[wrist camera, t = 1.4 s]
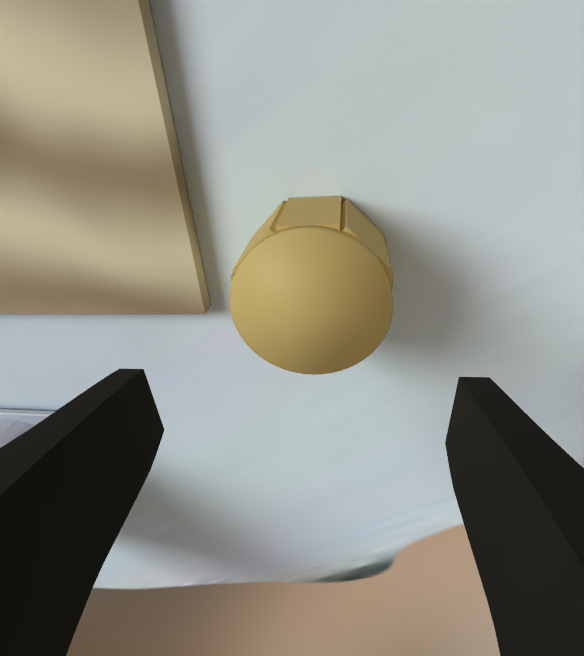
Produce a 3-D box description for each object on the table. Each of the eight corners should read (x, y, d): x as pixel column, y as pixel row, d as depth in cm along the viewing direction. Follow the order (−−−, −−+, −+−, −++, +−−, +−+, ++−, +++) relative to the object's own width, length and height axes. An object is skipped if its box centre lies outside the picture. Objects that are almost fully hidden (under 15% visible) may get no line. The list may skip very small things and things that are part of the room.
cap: (379, 318, 17) (387, 376, 14) (260, 318, 18) (241, 372, 15) (387, 194, 14) (399, 228, 11) (245, 199, 15) (217, 233, 12)
